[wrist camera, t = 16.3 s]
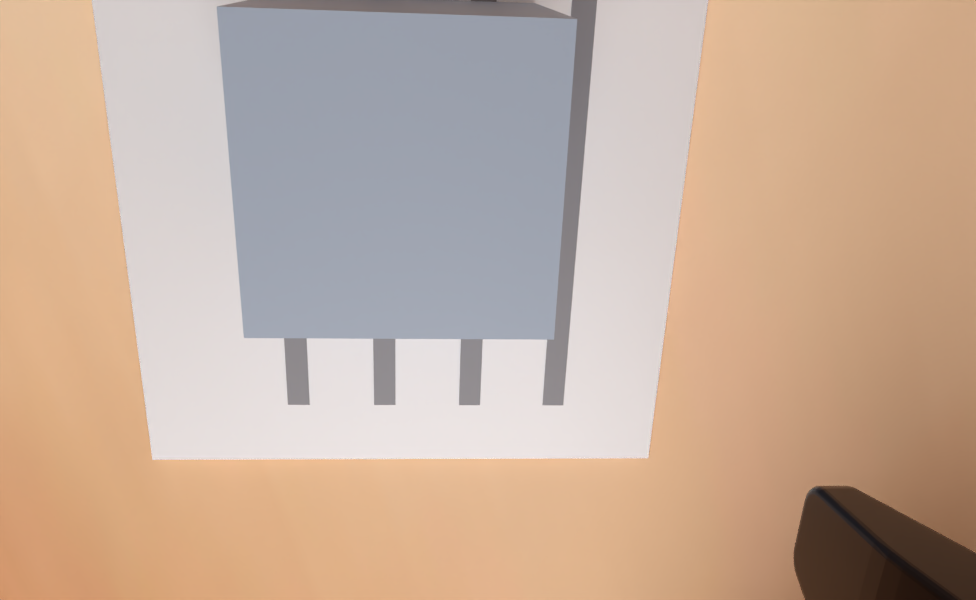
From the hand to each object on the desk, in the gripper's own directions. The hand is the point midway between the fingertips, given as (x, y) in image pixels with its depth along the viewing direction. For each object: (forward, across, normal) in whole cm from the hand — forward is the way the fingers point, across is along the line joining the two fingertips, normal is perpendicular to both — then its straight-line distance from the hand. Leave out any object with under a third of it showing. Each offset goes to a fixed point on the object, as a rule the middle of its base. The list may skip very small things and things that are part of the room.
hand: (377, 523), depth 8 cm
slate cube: (+10, 0, -2) cm, 11 cm away
